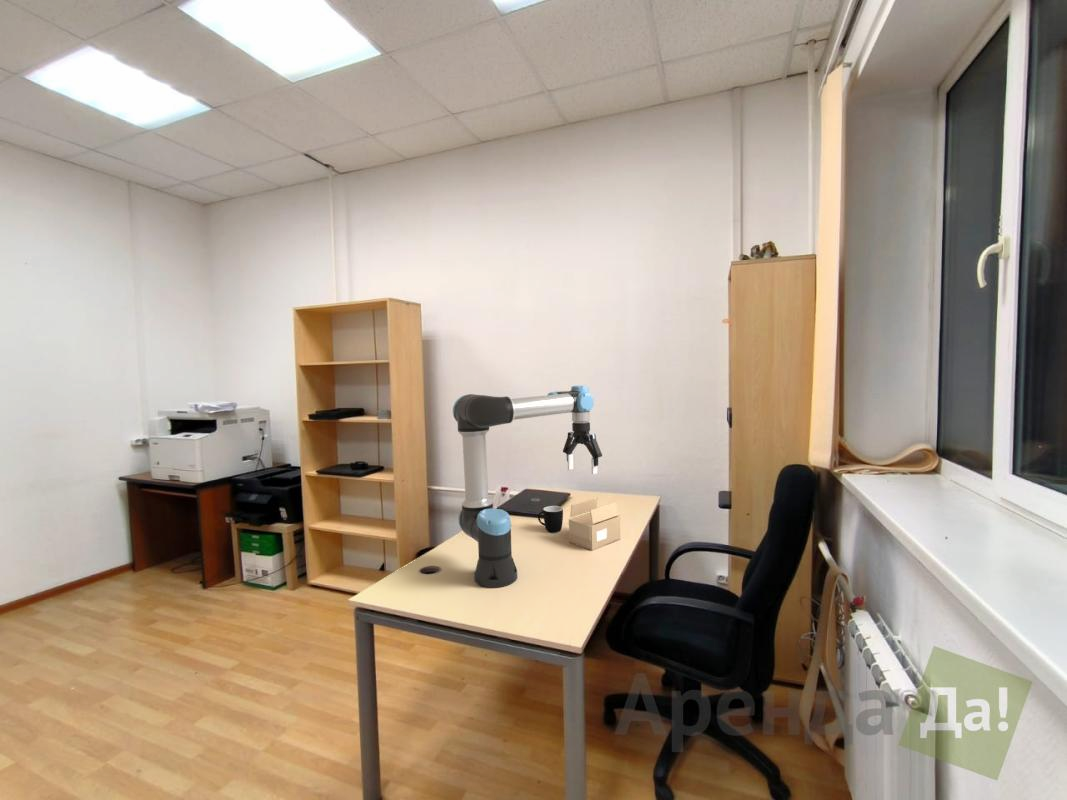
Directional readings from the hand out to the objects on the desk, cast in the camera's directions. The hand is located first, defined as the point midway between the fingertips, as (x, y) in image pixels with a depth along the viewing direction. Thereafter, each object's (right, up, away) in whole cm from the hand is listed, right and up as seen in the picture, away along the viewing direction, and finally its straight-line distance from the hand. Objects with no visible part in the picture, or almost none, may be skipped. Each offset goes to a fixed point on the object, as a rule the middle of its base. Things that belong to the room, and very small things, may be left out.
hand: (582, 471), depth 199 cm
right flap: (+8, -16, -7) cm, 19 cm away
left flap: (+1, -16, +1) cm, 16 cm away
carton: (+5, -29, -2) cm, 30 cm away
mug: (-13, -29, +13) cm, 35 cm away
